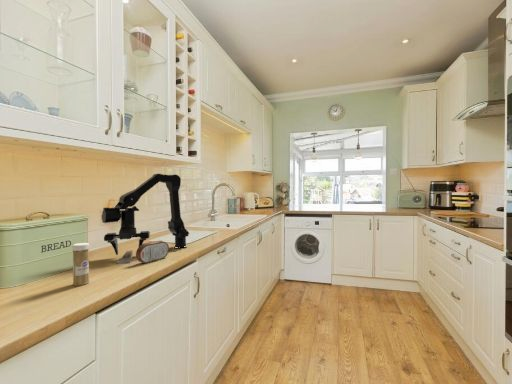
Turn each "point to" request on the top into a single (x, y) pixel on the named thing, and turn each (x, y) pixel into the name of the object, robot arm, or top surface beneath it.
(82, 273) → the sprinkles bottle
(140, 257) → the tin
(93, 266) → the top surface
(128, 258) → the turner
